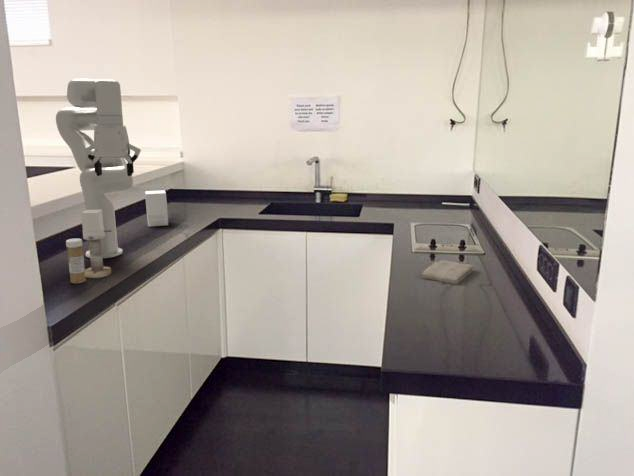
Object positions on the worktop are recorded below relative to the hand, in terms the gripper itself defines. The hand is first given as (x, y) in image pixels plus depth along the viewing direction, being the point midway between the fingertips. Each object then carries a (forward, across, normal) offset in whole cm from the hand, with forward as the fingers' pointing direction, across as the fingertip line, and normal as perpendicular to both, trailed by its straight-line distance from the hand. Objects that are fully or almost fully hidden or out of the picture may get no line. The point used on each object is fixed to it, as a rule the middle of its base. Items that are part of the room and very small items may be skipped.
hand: (114, 175), depth 172 cm
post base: (+31, -6, -6) cm, 32 cm away
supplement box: (+32, -4, +68) cm, 75 cm away
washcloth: (+31, +108, -10) cm, 113 cm away
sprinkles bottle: (+31, -9, -14) cm, 35 cm away
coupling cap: (+19, -5, -6) cm, 21 cm away
